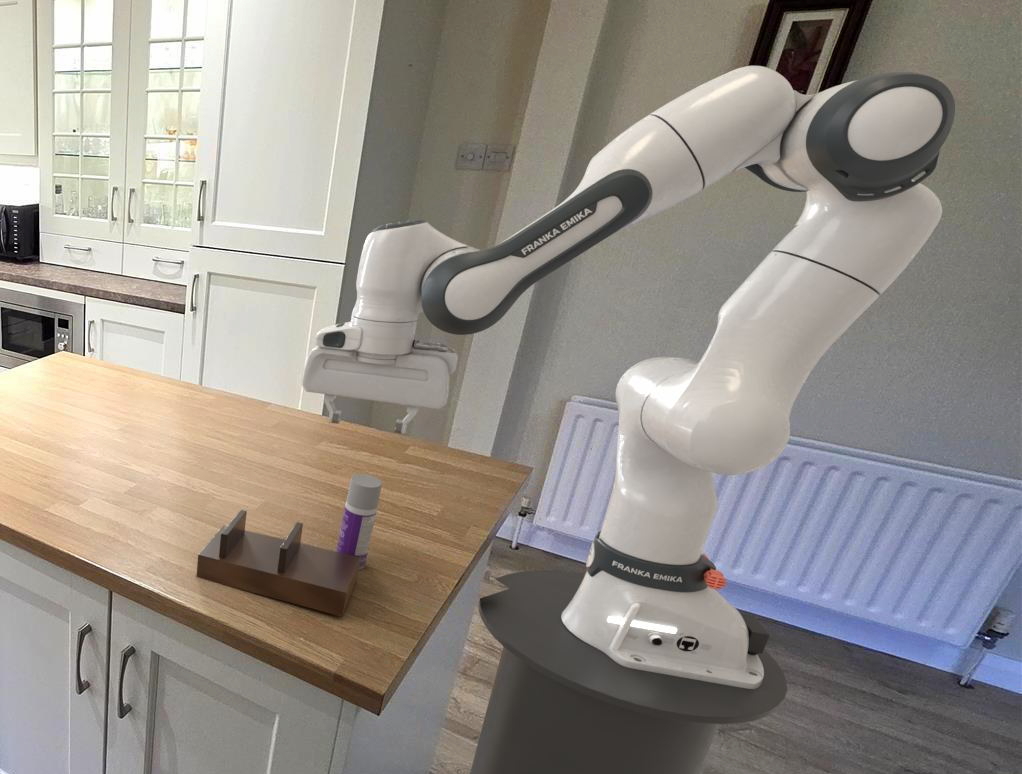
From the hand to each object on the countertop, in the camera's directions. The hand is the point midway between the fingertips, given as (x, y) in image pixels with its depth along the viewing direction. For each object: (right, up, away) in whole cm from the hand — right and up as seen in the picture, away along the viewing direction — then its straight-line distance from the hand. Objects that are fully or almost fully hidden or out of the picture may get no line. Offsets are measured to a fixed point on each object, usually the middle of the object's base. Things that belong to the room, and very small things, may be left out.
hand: (366, 427), depth 112 cm
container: (+1, -22, +8) cm, 23 cm away
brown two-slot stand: (-13, -24, +4) cm, 27 cm away
